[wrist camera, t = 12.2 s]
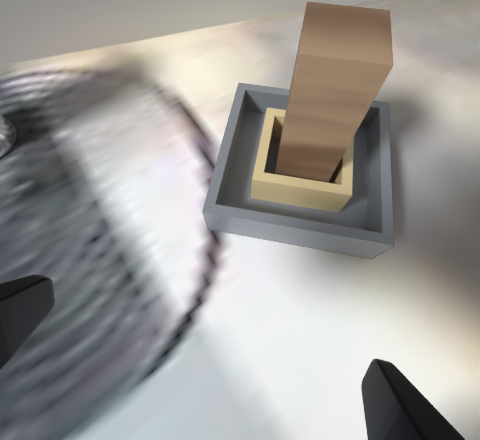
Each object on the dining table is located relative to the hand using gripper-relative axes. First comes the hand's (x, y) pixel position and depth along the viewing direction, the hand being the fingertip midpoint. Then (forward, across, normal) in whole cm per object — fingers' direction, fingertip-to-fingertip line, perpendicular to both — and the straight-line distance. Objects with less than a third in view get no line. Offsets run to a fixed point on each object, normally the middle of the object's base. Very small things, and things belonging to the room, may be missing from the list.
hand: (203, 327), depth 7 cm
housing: (+20, -3, -1) cm, 20 cm away
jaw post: (+20, -3, -2) cm, 20 cm away
